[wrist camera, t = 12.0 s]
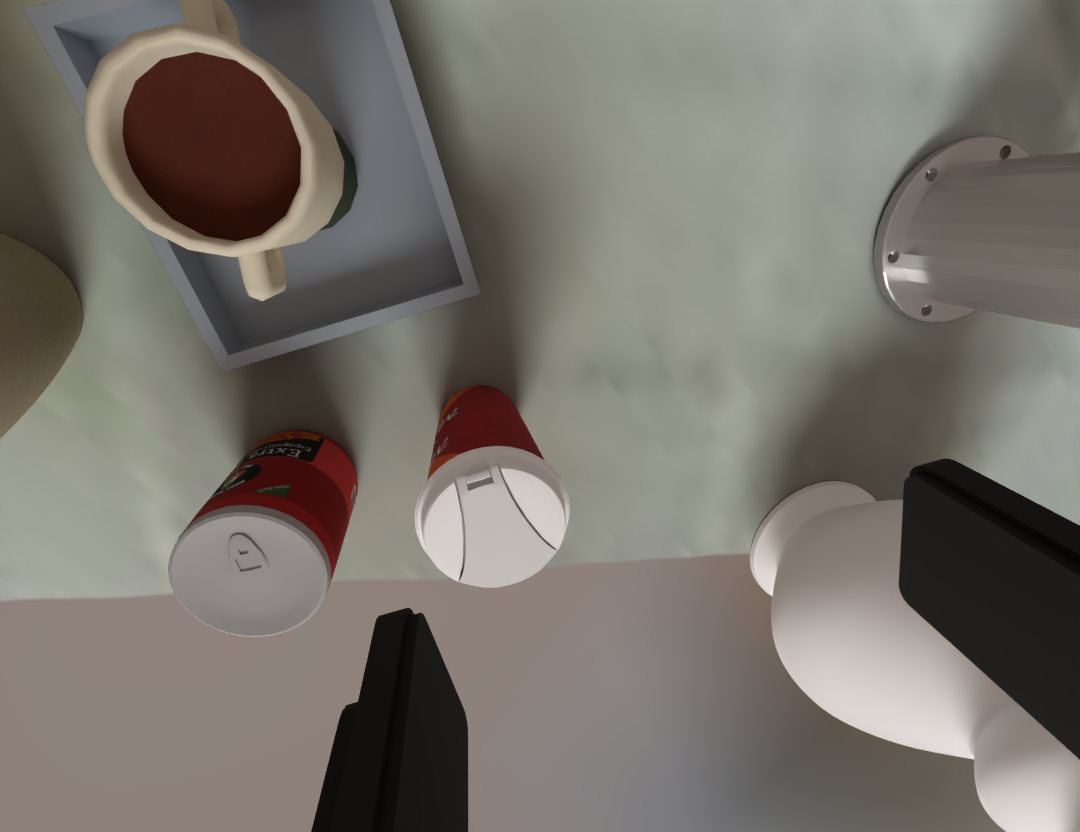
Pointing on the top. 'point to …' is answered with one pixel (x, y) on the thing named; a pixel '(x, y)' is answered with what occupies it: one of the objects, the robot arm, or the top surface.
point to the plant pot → (32, 326)
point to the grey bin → (371, 136)
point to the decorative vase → (898, 655)
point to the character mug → (215, 145)
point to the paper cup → (489, 494)
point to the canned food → (267, 537)
